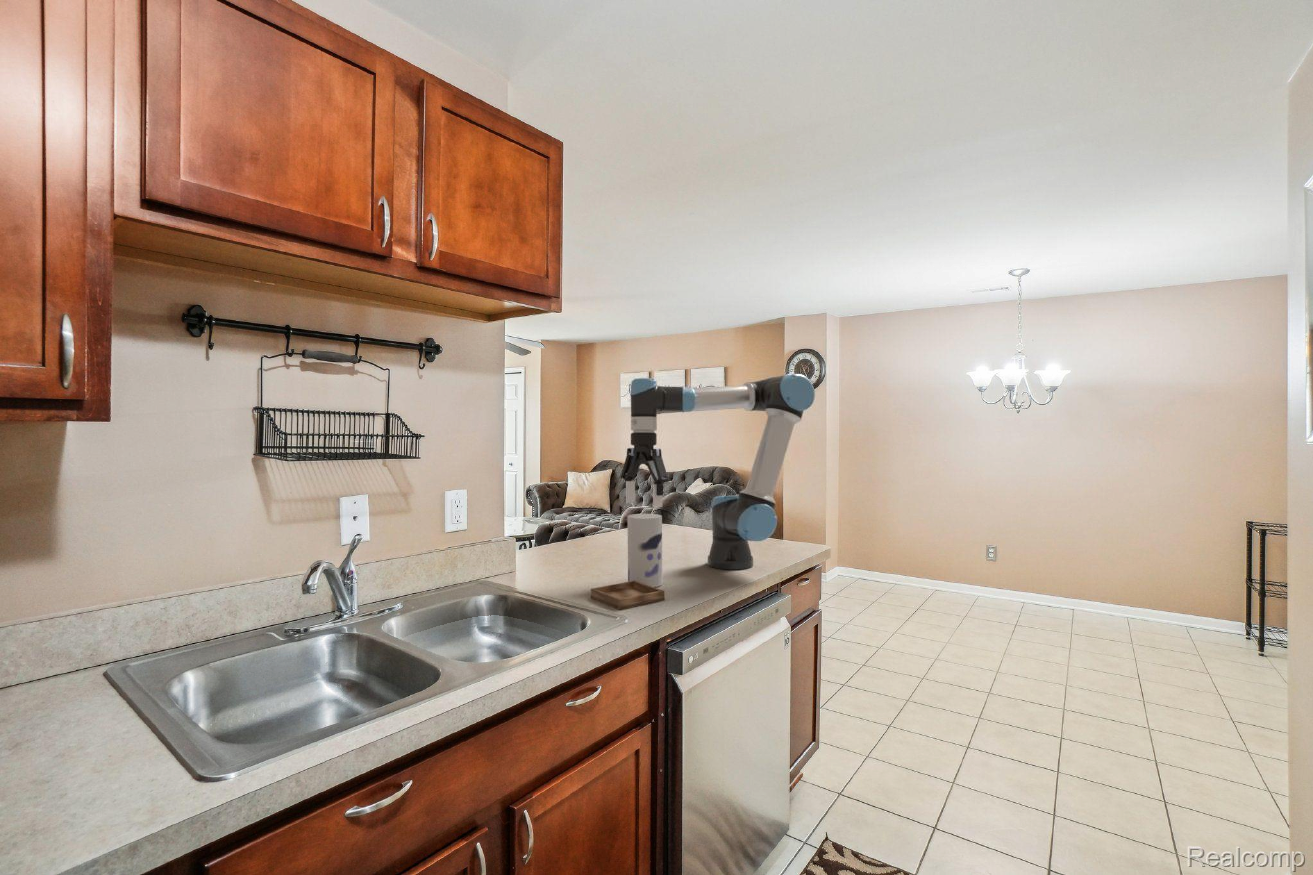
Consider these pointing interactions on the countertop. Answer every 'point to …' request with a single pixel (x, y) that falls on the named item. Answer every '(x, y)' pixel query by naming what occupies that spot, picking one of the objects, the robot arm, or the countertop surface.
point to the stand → (627, 594)
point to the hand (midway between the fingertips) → (643, 505)
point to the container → (645, 549)
